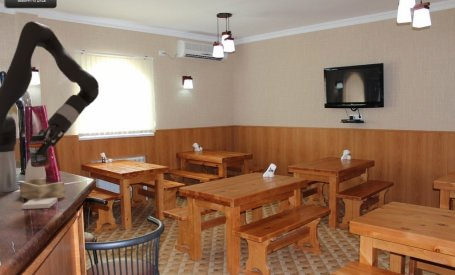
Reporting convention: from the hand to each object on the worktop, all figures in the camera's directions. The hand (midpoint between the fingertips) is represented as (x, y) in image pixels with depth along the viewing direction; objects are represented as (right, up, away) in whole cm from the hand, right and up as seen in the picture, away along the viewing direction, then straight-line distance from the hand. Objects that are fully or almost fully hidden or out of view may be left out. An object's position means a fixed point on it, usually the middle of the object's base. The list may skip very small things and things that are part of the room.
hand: (34, 153), depth 135 cm
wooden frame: (-5, -18, +15) cm, 24 cm away
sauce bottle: (-13, -17, +27) cm, 35 cm away
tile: (+1, -19, +2) cm, 19 cm away
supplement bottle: (+1, -5, +2) cm, 5 cm away
